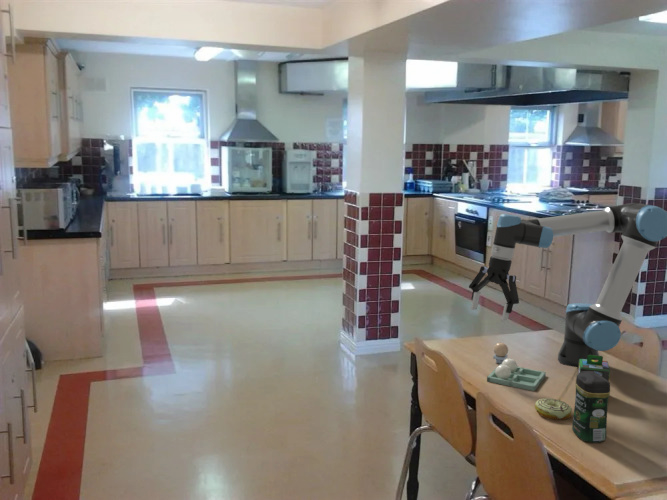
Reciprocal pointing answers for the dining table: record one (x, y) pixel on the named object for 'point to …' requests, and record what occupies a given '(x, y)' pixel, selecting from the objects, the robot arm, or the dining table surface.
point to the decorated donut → (553, 409)
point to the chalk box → (595, 366)
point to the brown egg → (500, 349)
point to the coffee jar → (591, 407)
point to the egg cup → (499, 358)
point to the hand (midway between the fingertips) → (488, 315)
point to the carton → (520, 378)
